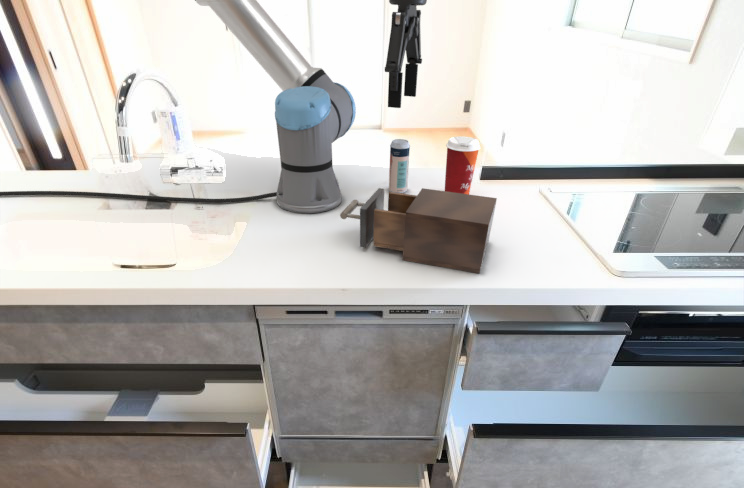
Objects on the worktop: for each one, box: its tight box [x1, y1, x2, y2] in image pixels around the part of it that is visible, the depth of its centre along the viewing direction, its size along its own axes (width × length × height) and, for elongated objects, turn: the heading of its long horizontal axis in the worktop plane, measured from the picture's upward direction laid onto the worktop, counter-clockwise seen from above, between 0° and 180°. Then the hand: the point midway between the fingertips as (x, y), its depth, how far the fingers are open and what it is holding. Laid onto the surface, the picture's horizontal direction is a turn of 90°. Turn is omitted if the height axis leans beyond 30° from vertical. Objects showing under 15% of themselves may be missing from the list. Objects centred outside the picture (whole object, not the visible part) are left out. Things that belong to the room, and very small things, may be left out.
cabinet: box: [402, 187, 498, 274], centre depth 85 cm, size 15×13×10 cm
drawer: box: [339, 187, 418, 252], centre depth 87 cm, size 18×11×8 cm, turn 71°
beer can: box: [387, 138, 411, 194], centre depth 109 cm, size 5×5×12 cm
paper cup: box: [444, 135, 481, 195], centre depth 104 cm, size 8×8×14 cm
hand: (402, 101), depth 100 cm, fingers open, 12 cm apart
